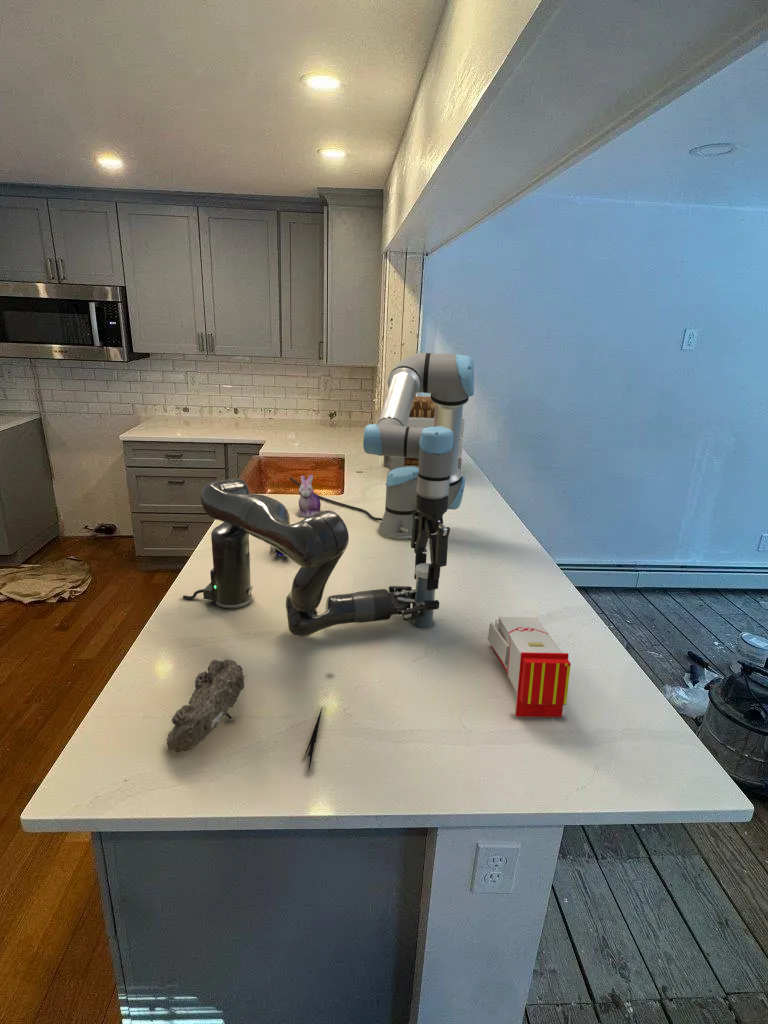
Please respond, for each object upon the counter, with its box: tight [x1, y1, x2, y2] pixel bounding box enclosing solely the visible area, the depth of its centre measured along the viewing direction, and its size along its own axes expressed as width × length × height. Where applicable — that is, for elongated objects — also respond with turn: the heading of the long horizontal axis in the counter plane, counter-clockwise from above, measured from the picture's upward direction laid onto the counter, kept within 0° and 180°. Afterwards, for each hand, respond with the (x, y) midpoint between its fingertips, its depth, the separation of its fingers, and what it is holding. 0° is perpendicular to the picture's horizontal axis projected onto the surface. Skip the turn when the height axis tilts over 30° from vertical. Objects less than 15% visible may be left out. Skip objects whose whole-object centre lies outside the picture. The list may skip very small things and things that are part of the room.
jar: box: [412, 575, 436, 628], centre depth 142 cm, size 5×5×15 cm
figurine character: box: [269, 545, 288, 560], centre depth 179 cm, size 7×8×15 cm
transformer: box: [383, 395, 465, 472], centre depth 268 cm, size 34×33×41 cm
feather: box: [301, 673, 332, 771], centre depth 108 cm, size 2×28×2 cm
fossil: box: [166, 658, 245, 754], centre depth 106 cm, size 22×10×15 cm
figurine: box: [298, 474, 322, 518], centre depth 213 cm, size 9×10×15 cm
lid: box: [414, 562, 431, 579], centre depth 139 cm, size 6×6×2 cm
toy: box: [487, 616, 572, 718], centre depth 123 cm, size 12×13×30 cm
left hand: (434, 599), depth 143 cm, fingers closed on jar, 5 cm apart
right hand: (425, 583), depth 140 cm, fingers closed on lid, 6 cm apart
